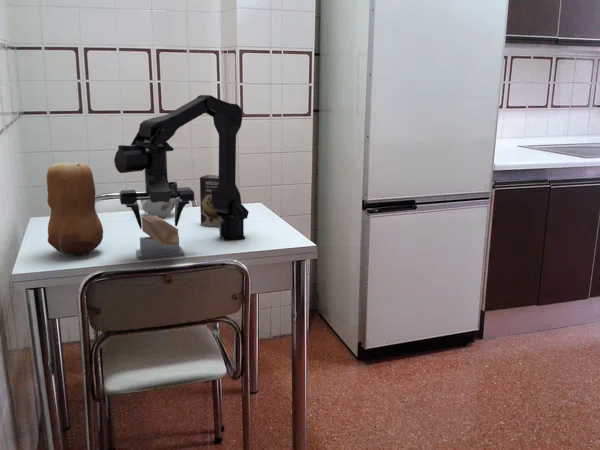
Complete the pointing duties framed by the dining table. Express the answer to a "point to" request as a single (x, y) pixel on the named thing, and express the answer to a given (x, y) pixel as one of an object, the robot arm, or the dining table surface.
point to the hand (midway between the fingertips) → (158, 227)
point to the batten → (160, 230)
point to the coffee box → (208, 201)
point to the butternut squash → (72, 209)
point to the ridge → (157, 250)
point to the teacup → (158, 207)
